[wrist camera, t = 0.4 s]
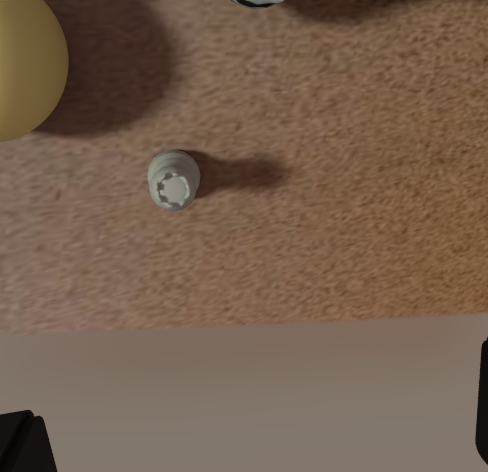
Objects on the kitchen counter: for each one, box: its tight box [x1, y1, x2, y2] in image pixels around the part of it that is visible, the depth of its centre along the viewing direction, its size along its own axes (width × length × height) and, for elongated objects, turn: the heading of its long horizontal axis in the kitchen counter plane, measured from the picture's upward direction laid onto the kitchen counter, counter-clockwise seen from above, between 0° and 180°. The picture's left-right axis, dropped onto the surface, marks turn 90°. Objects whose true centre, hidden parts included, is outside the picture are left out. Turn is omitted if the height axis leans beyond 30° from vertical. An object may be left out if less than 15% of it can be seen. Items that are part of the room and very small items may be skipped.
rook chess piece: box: [147, 150, 201, 211], centre depth 33 cm, size 4×4×8 cm
